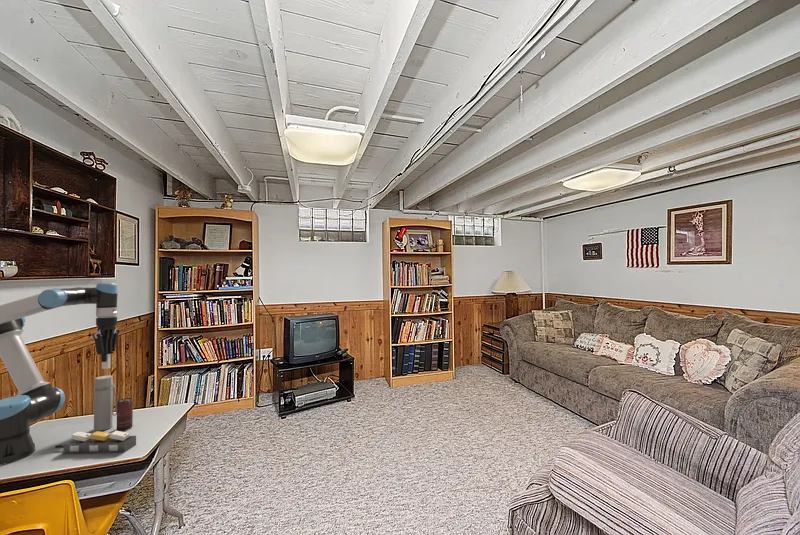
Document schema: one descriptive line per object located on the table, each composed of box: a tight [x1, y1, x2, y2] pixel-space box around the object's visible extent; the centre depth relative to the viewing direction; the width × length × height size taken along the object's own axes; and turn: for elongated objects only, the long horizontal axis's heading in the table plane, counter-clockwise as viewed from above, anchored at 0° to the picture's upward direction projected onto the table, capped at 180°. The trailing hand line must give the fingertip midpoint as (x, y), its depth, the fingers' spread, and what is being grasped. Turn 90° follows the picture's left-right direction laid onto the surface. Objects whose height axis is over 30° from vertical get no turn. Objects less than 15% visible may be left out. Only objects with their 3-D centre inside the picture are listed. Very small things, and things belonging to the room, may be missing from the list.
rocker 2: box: [110, 430, 131, 441], centre depth 154 cm, size 6×3×2 cm, turn 92°
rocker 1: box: [70, 431, 92, 441], centre depth 153 cm, size 6×3×2 cm, turn 92°
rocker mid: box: [90, 431, 112, 441], centre depth 153 cm, size 6×3×2 cm, turn 92°
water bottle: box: [93, 375, 117, 432], centre depth 175 cm, size 9×8×25 cm
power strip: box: [54, 435, 137, 455], centre depth 153 cm, size 31×7×4 cm, turn 92°
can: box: [116, 397, 134, 432], centre depth 174 cm, size 6×6×14 cm
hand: (106, 368), depth 163 cm, fingers closed
